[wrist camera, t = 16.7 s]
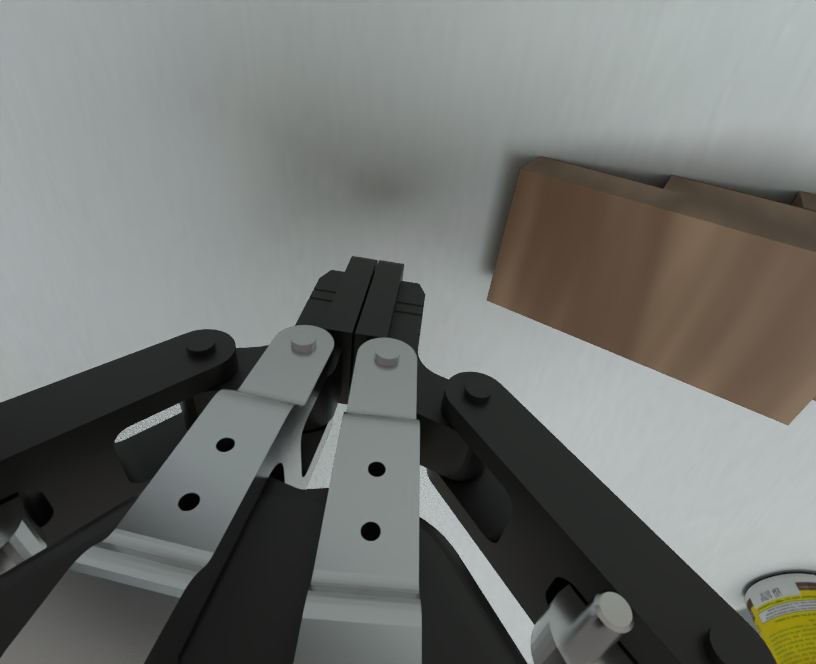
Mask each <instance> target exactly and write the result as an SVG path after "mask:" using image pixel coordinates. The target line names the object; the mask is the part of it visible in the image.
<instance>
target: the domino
mask: <svg viewBox="0 0 816 664" xmlns="http://www.w3.org/2000/svg"><path fill="white" fill-rule="evenodd" d="M487 301H490V302H492V303H495V304H497V305H499V306H502V307H504V308H507V309H509V310H511V311H514V312H516V313H519V314H521V315H523V316H526V317H528V318H531V319H533V320H536V321H538V322H540V323H543V324H545V325H548V326H550V327H552V328H555V329H557V330H560V331H562V332H564V333H567V334H569V335H572V336H574V337H576V338H579V339H581V340H584V341H586V342H589V343H591V344H593V345H596V346H598V347H601V348H603V349H605V350H608V351H610V352H613V353H615V354H617V355H620V356H622V357H625V358H627V359H629V360H632V361H634V362H637V363H639V364H641V365H644V366H646V367H649V368H651V369H654V370H656V371H658V372H661V373H663V374H666V375H668V376H670V377H673V378H675V379H678V380H680V381H682V382H685V383H687V384H690V385H692V386H694V387H697V388H699V389H702V390H704V391H706V392H709V393H711V394H714V395H716V396H719V397H721V398H723V399H726V400H728V401H731V402H733V403H735V404H738V405H740V406H743V407H745V408H747V409H750V410H752V411H755V412H757V413H759V414H762V415H764V416H767V417H769V418H772V419H774V420H776V421H779V422H781V423H784V424H786V425H789V424H790V423H791V422H792V420H793V419H794V418H795V417H796V416H797V415H798V414H799V413H800V412H801V411H802V410H803V409H804V408H805V407H806V405H807V404H808V403H809V402H810V401H811V400H812V399H813V398H814V397H815V396H816V230H815V229H811V228H807V227H804V226H800V225H796V224H792V223H789V222H785V221H781V220H777V219H774V218H770V217H766V216H762V215H759V214H755V213H751V212H748V211H744V210H740V209H736V208H733V207H729V206H725V205H721V204H718V203H714V202H710V201H706V200H703V199H699V198H695V197H691V196H688V195H684V194H680V193H677V192H673V191H669V190H665V189H662V188H658V187H654V186H650V185H647V184H643V183H639V182H635V181H632V180H628V179H624V178H620V177H617V176H613V175H609V174H605V173H602V172H598V171H594V170H591V169H587V168H583V167H579V166H576V165H572V164H568V163H564V162H561V161H557V160H553V159H549V158H546V157H542V156H541V157H539V158H537V159H536V160H534V161H532V162H531V163H529V164H527V165H525V166H524V167H522V168H520V171H519V175H518V179H517V183H516V187H515V191H514V195H513V199H512V203H511V206H510V210H509V214H508V218H507V222H506V226H505V230H504V234H503V238H502V242H501V246H500V250H499V254H498V258H497V262H496V266H495V270H494V273H493V277H492V281H491V285H490V289H489V293H488V297H487Z"/></svg>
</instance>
